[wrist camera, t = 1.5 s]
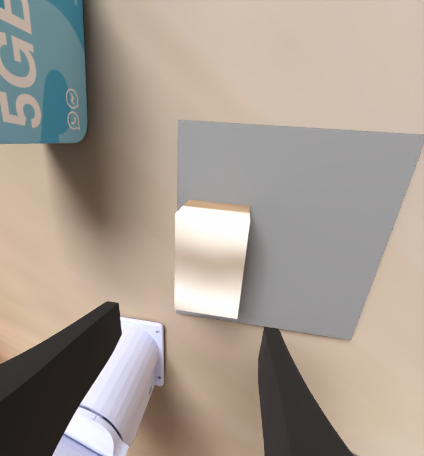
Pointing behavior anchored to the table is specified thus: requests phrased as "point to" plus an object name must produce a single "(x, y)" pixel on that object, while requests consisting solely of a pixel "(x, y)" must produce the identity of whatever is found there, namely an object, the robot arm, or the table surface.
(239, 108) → the table surface
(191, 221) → the metal box
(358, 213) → the desk mat
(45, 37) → the data package
